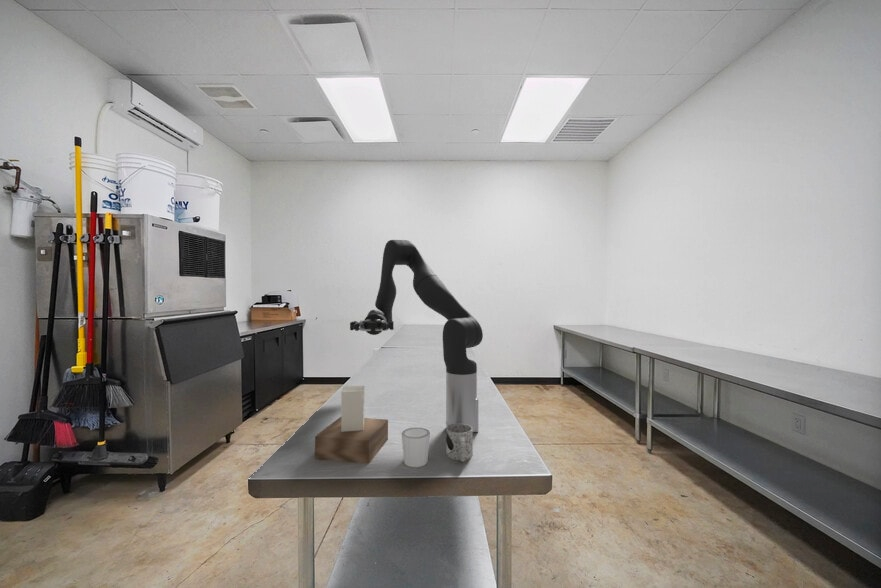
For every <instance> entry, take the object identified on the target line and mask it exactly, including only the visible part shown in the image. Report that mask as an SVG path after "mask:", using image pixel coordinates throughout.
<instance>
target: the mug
mask: <svg viewBox="0 0 881 588" xmlns="http://www.w3.org/2000/svg"><path fill="white" fill-rule="evenodd" d="M445 427H446V426H445ZM445 429H446V431H445V433H446V435H445V437H446V439H445V441H446V442H445V445H446V446H445V448H446V449H445V451H446V453H445V455H446V457H447V458H448V459H449V460H453V461H456V462H457V461H459V462H462V463H464V462H465V461H468V460H470V459H471V458H472V457H473V456H474V455H473V454H474V453H473V449H474V448H473V446H474V445H473V444H474V443H473V442H474V441H473V440H474V439H473V434H474V432H473V429H472V427H471V426H470V425H467V424H462V423H455V424H450V425H448V426H447V427H446V428H445Z"/></svg>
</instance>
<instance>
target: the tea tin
mask: <svg viewBox="0 0 881 588" xmlns="http://www.w3.org/2000/svg"><path fill="white" fill-rule="evenodd" d="M340 394H341V395H340V396H341V397H340V398H341V402H340V405H341V409H340V410H341V411H340V412H341V415H340V417H341V432H345V431H360V430H363V429H364V418H365V385H355V386H353V385H351V386H349V385H348V386H343V388H342V390H341V393H340Z"/></svg>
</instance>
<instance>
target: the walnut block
mask: <svg viewBox="0 0 881 588" xmlns="http://www.w3.org/2000/svg"><path fill="white" fill-rule="evenodd" d="M388 440H389V419H386V418H383V419H382V418H370V417H369V418H368V417H364V429H363V430H360V431H345V432H341V416H339V418H337V419H335V420H334V421H333V422H332V423H330V424H329V425H328V426H326V427H325V428H324V429H322V430H321V431H319V432H318V433H317V434H316V435H315V436H314V460H320V461H330V460H332V461H333V462H343V463H344V462H345V463H356V464H367V465H368V464H371V462H372V461H373V459H374V458H375V456H377V455H378V453H379V452H380V451H381V449H382V448H383V447H384V445H385V444H386V443H387V442H388Z"/></svg>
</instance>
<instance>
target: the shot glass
mask: <svg viewBox="0 0 881 588" xmlns="http://www.w3.org/2000/svg"><path fill="white" fill-rule="evenodd" d="M430 435H431V432H430V430H429V429H427V428H423V427H410V428H406V429H404V430H402V432H401V440H402V441H401V444H402V452H403V463H404V465H405V466H408V467H411V468H419V467H423V466H425V465H426V464H427V463H428V461H429V460H428V459H429V446H430V438H431V437H430Z"/></svg>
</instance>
